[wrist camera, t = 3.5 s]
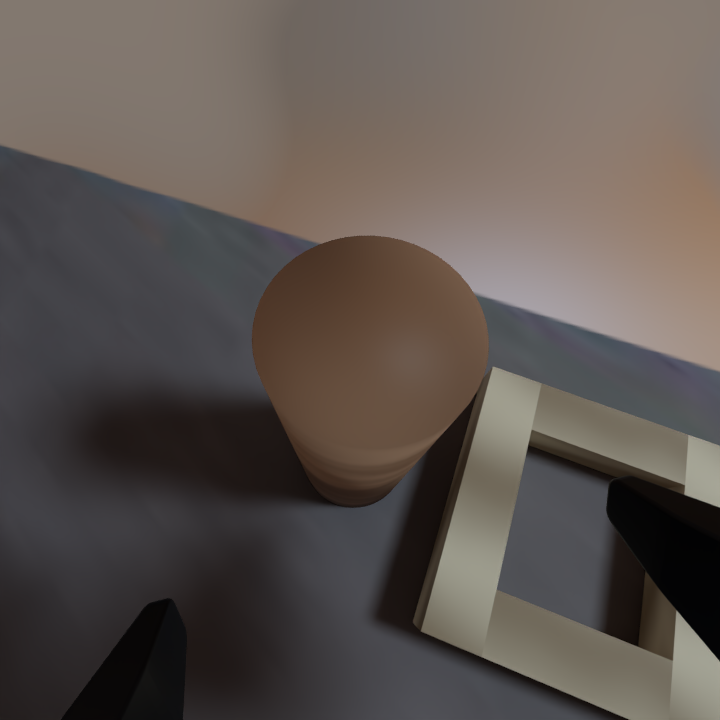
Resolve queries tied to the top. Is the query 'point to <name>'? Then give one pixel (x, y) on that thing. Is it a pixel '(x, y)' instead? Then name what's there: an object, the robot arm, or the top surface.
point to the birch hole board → (532, 623)
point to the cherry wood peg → (367, 360)
